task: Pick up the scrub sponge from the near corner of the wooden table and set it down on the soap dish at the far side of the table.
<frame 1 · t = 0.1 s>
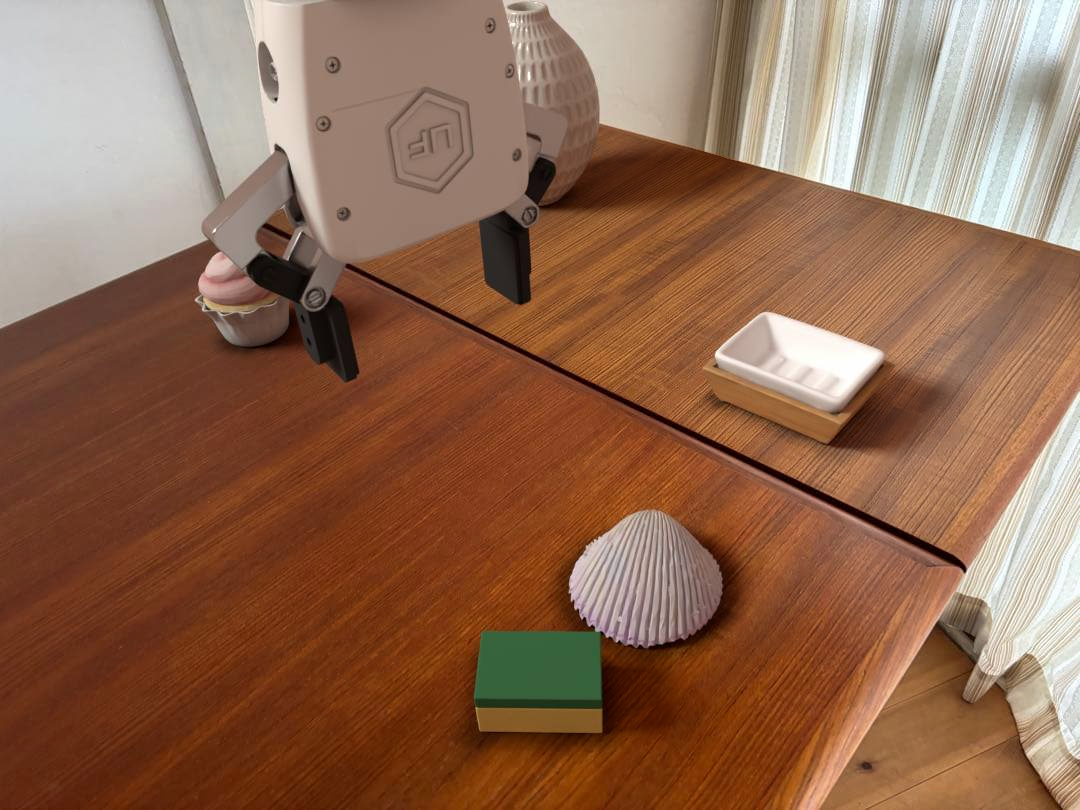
hand: (427, 328, 41), 23 cm above the table, tool pointing down, fingers open, 9 cm apart
soap dish: (791, 402, 72), on the table
scrub sponge: (542, 697, 51), on the table
cupcake: (257, 332, 85), on the table
seashell: (645, 587, 58), on the table
vase: (535, 196, 107), on the table
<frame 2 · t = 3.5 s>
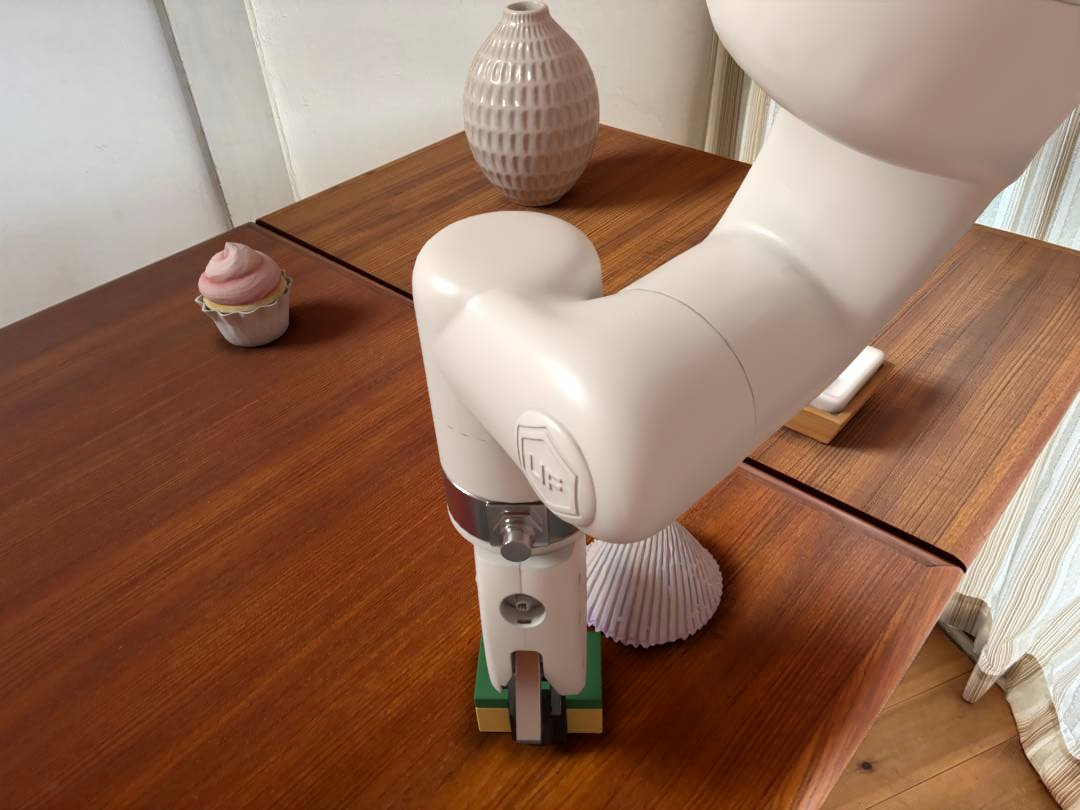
hand: (541, 694, 51), 0 cm above the table, tool pointing down, fingers closed on scrub sponge, 4 cm apart
scrub sponge: (542, 697, 51), on the table, touching gripper
everything else where it was.
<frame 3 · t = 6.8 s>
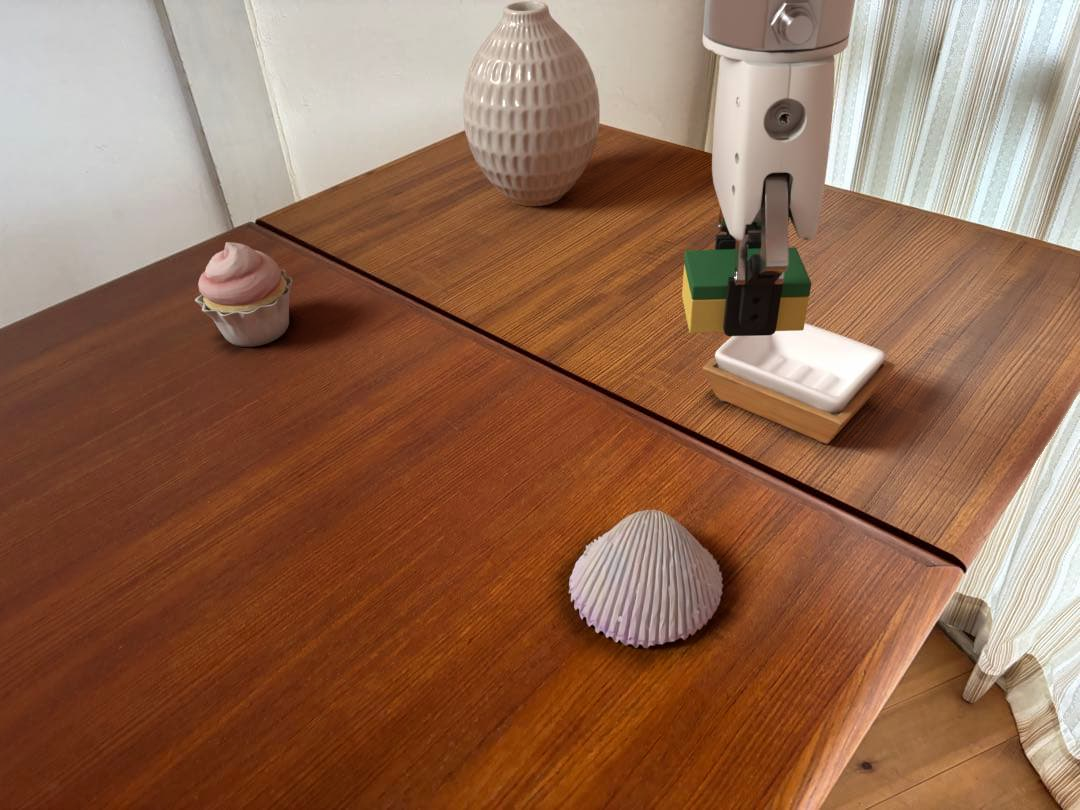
hand: (742, 307, 55), 16 cm above the table, tool pointing down, fingers closed on scrub sponge, 4 cm apart
scrub sponge: (740, 312, 56), point 15 cm above the table, touching gripper
everything else where it was.
when the fingers open (5 cm above the table, at t = 10.4 s): scrub sponge stays where it is, resting on soap dish.
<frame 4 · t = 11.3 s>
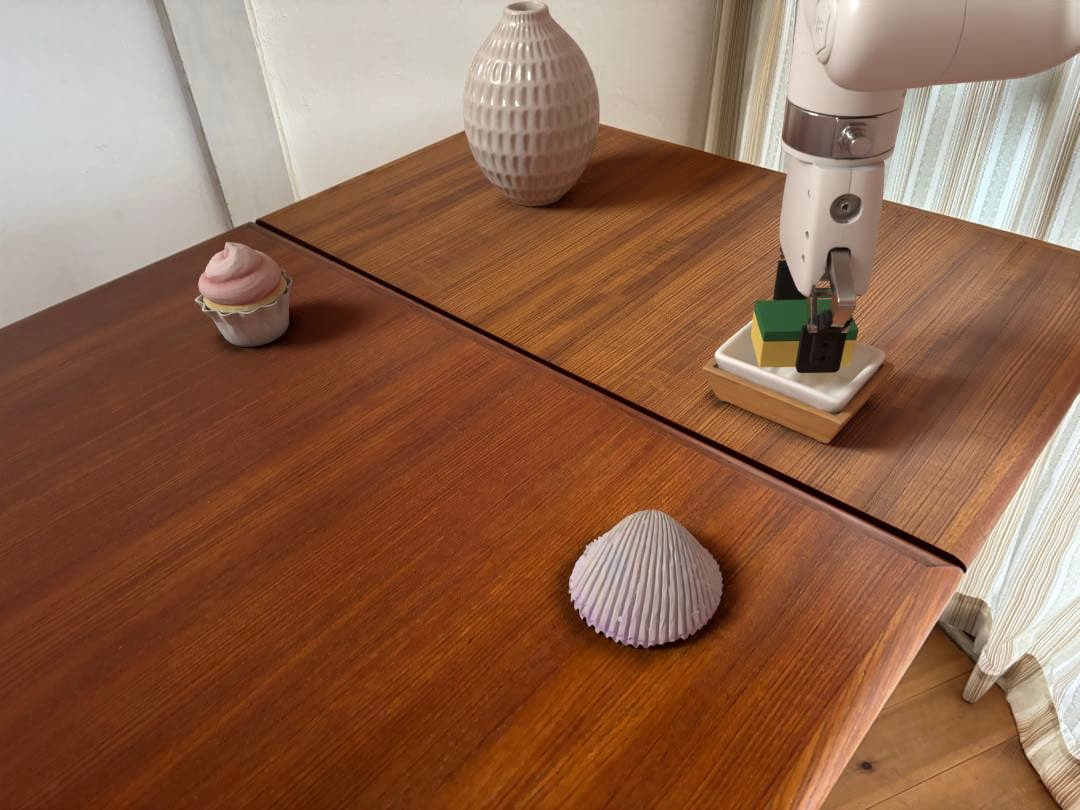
hand: (803, 335, 68), 7 cm above the table, tool pointing down, fingers open, 9 cm apart
soap dish: (791, 401, 72), on the table, touching scrub sponge
scrub sponge: (799, 350, 69), point 5 cm above the table, touching soap dish
everything else where it was.
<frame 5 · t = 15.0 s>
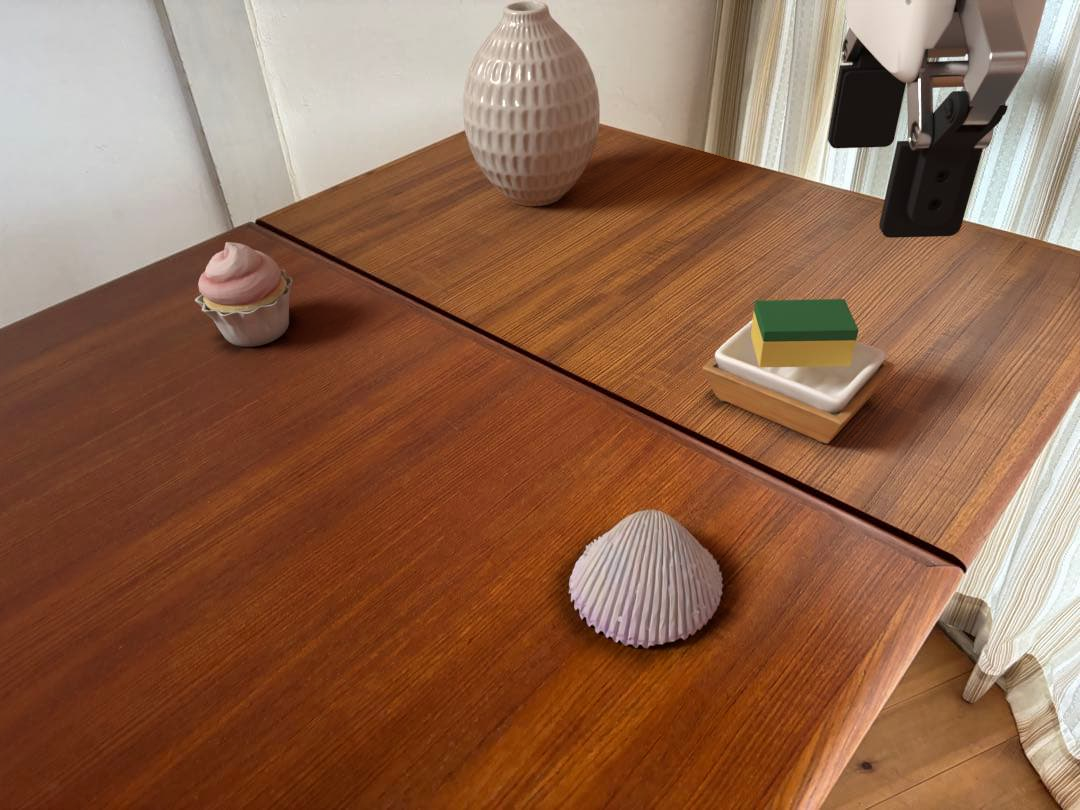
hand: (885, 185, 40), 28 cm above the table, tool pointing down, fingers open, 9 cm apart
nothing on the table moved.
at the end: scrub sponge 0.1 cm from the soap dish (horizontally); scrub sponge point 5.1 cm above the table; the gripper is holding nothing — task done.
